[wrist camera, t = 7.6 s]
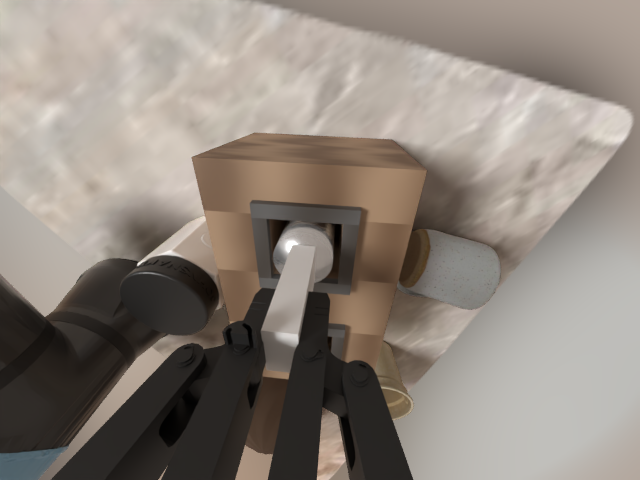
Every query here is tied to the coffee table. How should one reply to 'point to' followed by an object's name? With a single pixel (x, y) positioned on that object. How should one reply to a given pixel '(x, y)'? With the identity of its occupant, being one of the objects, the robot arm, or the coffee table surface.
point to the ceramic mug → (449, 269)
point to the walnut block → (314, 206)
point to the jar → (176, 283)
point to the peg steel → (307, 244)
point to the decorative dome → (267, 415)
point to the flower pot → (392, 384)
